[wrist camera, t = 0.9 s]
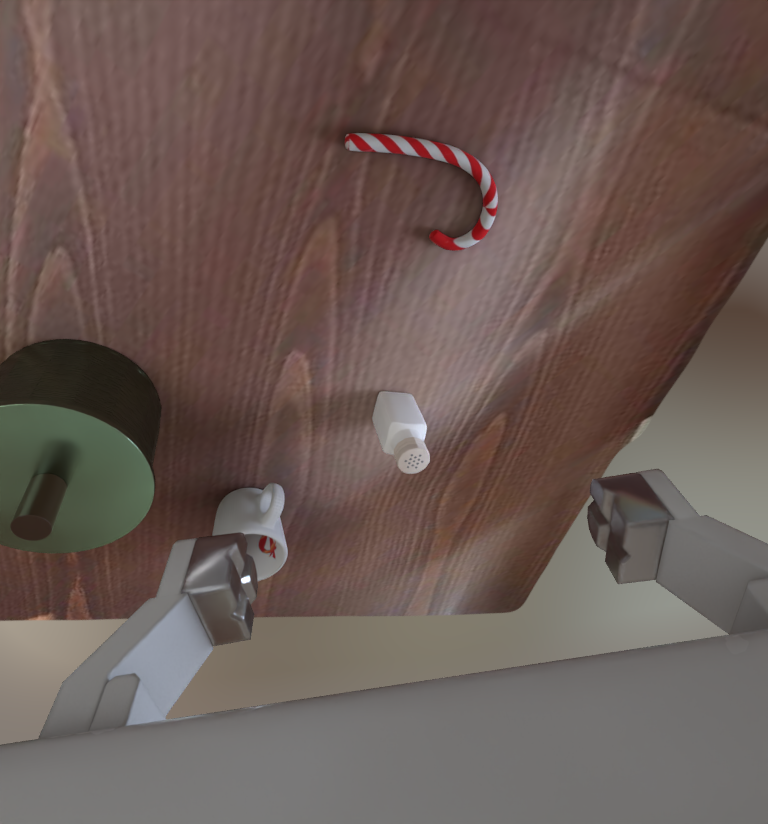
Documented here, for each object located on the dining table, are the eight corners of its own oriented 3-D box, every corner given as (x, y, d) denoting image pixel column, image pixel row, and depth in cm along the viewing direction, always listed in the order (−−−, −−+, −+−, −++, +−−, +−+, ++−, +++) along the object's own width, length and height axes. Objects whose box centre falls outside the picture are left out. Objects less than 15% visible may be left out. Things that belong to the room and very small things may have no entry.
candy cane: (364, 96, 41) (519, 181, 47) (360, 94, 42) (513, 178, 48) (323, 196, 44) (473, 263, 51) (321, 192, 45) (468, 258, 52)
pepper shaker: (369, 419, 60) (389, 476, 52) (377, 388, 58) (399, 443, 50) (404, 421, 61) (428, 478, 54) (413, 391, 59) (439, 445, 51)
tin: (-33, 428, 50) (-87, 509, 42) (29, 309, 46) (-17, 373, 37) (120, 483, 58) (101, 561, 49) (188, 385, 53) (179, 454, 45)
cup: (244, 450, 59) (245, 502, 52) (308, 474, 63) (316, 526, 56) (198, 517, 63) (194, 573, 56) (261, 536, 66) (264, 590, 60)
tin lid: (-95, 506, 43) (-134, 563, 38) (-20, 359, 37) (-56, 405, 33) (106, 562, 50) (93, 616, 46) (190, 447, 45) (185, 494, 41)
